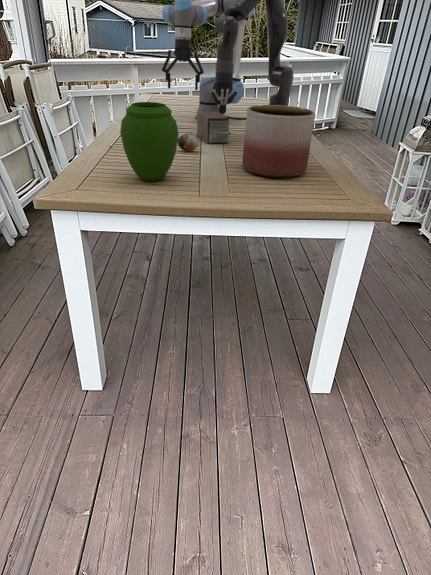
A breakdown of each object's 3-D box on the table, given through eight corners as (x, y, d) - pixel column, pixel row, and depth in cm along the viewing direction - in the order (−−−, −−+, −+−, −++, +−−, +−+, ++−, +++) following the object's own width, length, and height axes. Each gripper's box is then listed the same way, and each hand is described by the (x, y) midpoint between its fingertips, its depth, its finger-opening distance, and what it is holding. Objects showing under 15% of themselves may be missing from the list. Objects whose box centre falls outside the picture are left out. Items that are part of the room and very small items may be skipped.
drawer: (231, 144, 193) (233, 123, 187) (213, 145, 190) (214, 123, 185) (217, 134, 210) (217, 114, 205) (199, 134, 207) (200, 114, 202)
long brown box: (227, 142, 199) (229, 118, 193) (207, 143, 196) (208, 118, 190) (216, 134, 213) (217, 111, 207) (197, 135, 210) (197, 111, 204)
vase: (131, 189, 135) (125, 110, 122) (118, 172, 150) (112, 100, 137) (186, 184, 142) (187, 109, 129) (169, 168, 157) (167, 99, 144)
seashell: (198, 149, 184) (198, 131, 180) (199, 152, 180) (199, 133, 175) (176, 149, 183) (176, 130, 179) (177, 152, 178) (177, 133, 174)
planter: (315, 179, 154) (326, 116, 142) (250, 180, 150) (256, 115, 138) (293, 161, 175) (302, 105, 163) (236, 161, 171) (240, 103, 159)
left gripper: (154, 37, 188) (156, 88, 199) (208, 40, 187) (206, 91, 198) (158, 37, 195) (159, 86, 206) (210, 40, 193) (208, 89, 204)
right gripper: (212, 71, 172) (211, 115, 181) (241, 72, 176) (238, 115, 185) (207, 69, 178) (205, 112, 187) (235, 70, 182) (233, 112, 191)
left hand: (182, 89), depth 202 cm, fingers open, 13 cm apart
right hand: (222, 113), depth 186 cm, fingers closed
